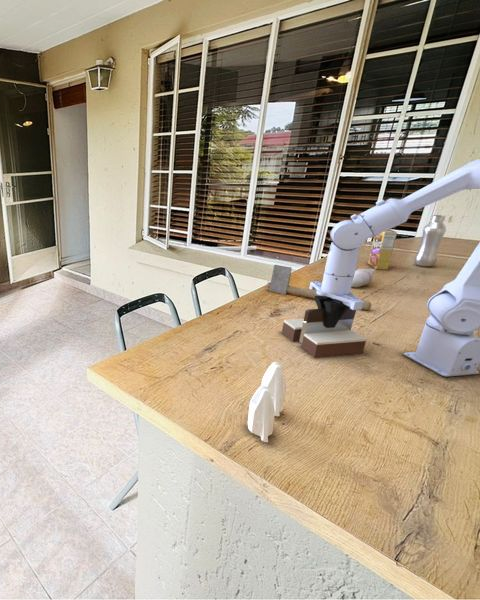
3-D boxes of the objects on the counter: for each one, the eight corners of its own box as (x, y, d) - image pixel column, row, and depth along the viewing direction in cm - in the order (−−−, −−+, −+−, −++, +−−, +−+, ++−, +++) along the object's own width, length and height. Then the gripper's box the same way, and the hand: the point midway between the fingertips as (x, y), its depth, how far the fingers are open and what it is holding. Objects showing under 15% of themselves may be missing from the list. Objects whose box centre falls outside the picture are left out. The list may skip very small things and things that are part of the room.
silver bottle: (418, 267, 139) (434, 217, 132) (409, 263, 145) (423, 214, 138) (438, 268, 138) (455, 217, 130) (428, 263, 144) (443, 214, 136)
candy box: (366, 263, 148) (375, 227, 143) (378, 264, 147) (388, 227, 141) (374, 269, 140) (384, 231, 135) (387, 269, 139) (398, 231, 134)
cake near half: (362, 353, 83) (366, 338, 82) (314, 357, 83) (317, 342, 82) (347, 344, 88) (350, 329, 86) (301, 347, 87) (304, 333, 86)
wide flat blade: (348, 340, 88) (357, 307, 84) (301, 344, 87) (308, 311, 84) (344, 338, 89) (353, 305, 85) (298, 341, 88) (305, 309, 85)
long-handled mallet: (368, 312, 104) (265, 290, 126) (370, 310, 106) (267, 288, 127) (377, 282, 101) (269, 264, 122) (379, 281, 102) (271, 263, 123)
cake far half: (337, 337, 91) (340, 324, 90) (292, 341, 91) (295, 327, 89) (324, 329, 96) (327, 316, 94) (281, 333, 95) (283, 319, 94)
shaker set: (262, 399, 70) (270, 350, 66) (285, 407, 67) (295, 357, 63) (242, 433, 62) (249, 380, 58) (267, 443, 59) (277, 389, 55)
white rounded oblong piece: (375, 279, 129) (351, 294, 124) (361, 267, 131) (338, 281, 126) (389, 270, 124) (366, 285, 118) (376, 257, 126) (352, 271, 121)
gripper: (302, 266, 88) (293, 315, 93) (346, 284, 74) (333, 340, 79) (329, 264, 88) (318, 313, 93) (378, 281, 75) (363, 338, 80)
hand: (327, 325), depth 86 cm, fingers closed on wide flat blade, 1 cm apart
